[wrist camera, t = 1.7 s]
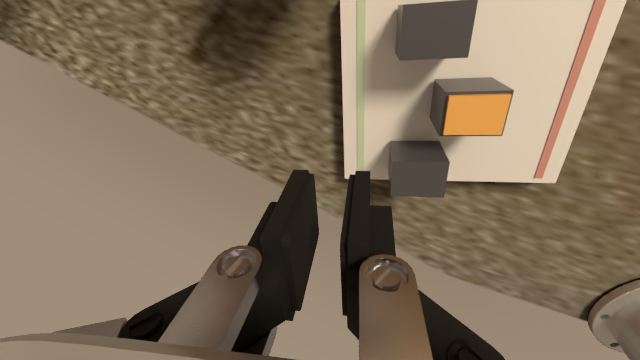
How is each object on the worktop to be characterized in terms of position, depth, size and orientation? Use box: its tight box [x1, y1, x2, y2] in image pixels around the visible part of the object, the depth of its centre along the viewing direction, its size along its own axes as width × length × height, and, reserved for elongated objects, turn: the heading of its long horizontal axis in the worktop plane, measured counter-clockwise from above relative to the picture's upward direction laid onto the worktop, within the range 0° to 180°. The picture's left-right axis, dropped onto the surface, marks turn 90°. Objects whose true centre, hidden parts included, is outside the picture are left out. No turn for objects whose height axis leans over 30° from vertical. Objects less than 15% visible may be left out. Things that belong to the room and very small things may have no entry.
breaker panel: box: [340, 0, 627, 197], centre depth 22 cm, size 18×15×6 cm
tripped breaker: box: [430, 77, 514, 136], centre depth 21 cm, size 4×3×4 cm
